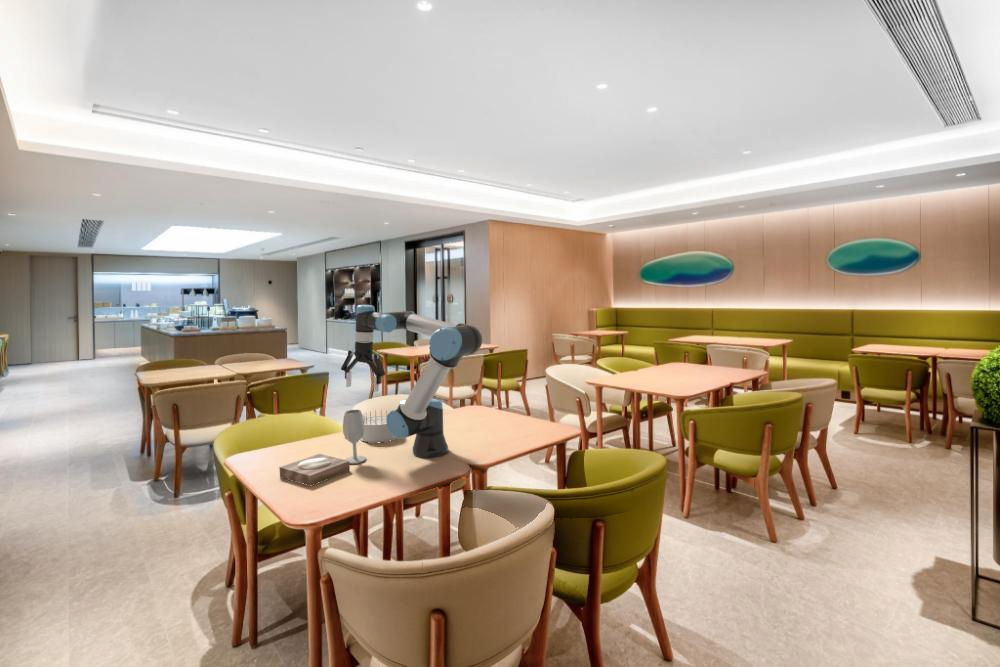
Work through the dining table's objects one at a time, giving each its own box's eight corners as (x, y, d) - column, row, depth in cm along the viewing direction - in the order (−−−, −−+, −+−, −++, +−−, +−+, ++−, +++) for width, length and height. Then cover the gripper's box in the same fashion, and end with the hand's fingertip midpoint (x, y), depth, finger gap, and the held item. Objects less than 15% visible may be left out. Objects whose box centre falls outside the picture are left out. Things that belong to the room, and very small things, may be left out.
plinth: (349, 470, 197) (349, 459, 197) (310, 486, 182) (309, 474, 181) (319, 463, 207) (319, 452, 206) (280, 477, 192) (279, 466, 191)
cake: (374, 431, 253) (373, 405, 251) (405, 434, 247) (404, 407, 245) (352, 441, 236) (350, 413, 235) (385, 444, 230) (384, 416, 229)
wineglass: (370, 458, 211) (368, 409, 209) (358, 465, 203) (355, 414, 201) (352, 456, 214) (350, 408, 212) (339, 463, 206) (337, 413, 204)
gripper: (394, 343, 216) (392, 391, 220) (343, 336, 223) (342, 382, 226) (386, 346, 209) (383, 395, 213) (333, 338, 216) (332, 386, 219)
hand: (362, 389), depth 219 cm, fingers open, 13 cm apart
